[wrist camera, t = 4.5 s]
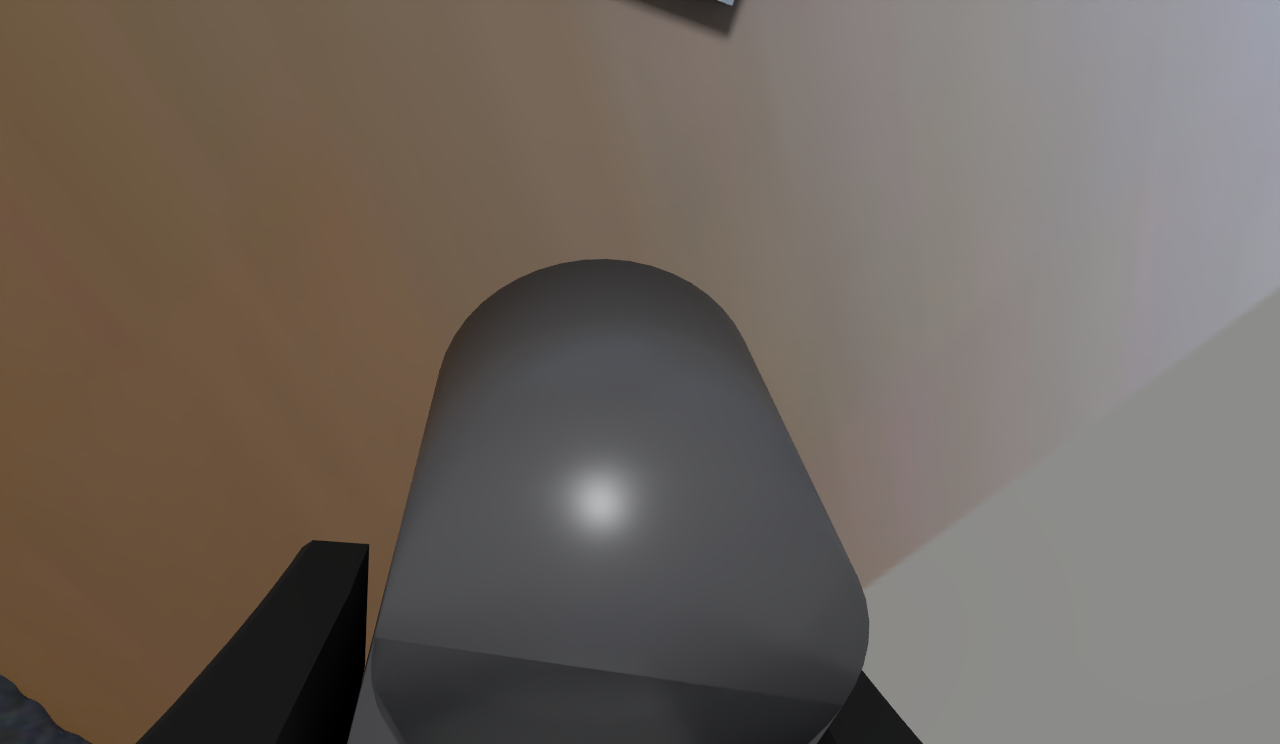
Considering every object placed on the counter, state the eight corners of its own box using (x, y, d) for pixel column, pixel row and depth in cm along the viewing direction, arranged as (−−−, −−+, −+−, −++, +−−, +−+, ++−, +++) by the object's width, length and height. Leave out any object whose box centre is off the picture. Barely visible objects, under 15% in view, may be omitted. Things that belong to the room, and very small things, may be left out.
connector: (806, 310, 9) (959, 536, 6) (573, 791, 14) (582, 1083, 10) (477, 216, 8) (428, 421, 5) (339, 767, 13) (261, 1082, 9)
